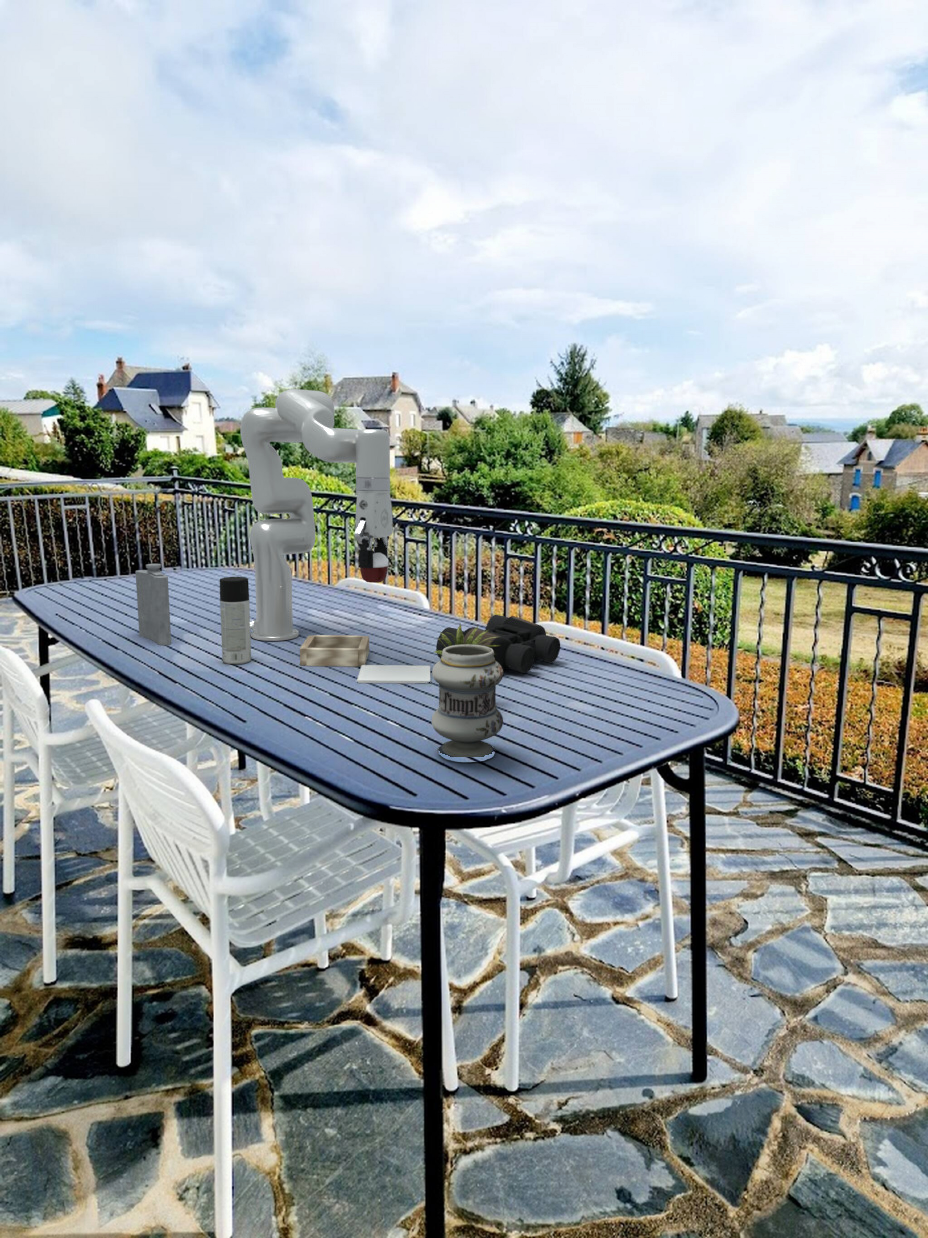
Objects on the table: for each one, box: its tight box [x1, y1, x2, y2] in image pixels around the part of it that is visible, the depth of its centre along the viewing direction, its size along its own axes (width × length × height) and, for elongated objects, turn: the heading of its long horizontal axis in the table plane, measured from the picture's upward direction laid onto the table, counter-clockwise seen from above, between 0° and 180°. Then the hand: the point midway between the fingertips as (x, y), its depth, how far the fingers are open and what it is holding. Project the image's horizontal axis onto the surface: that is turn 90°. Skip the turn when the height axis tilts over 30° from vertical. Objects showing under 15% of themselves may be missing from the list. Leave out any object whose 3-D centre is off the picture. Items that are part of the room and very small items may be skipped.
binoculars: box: [435, 614, 561, 674], centre depth 193 cm, size 29×20×10 cm
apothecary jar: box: [430, 644, 504, 757], centre depth 133 cm, size 12×12×18 cm
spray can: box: [219, 576, 252, 665], centre depth 188 cm, size 7×7×20 cm
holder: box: [299, 634, 370, 667], centre depth 195 cm, size 15×15×4 cm
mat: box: [356, 664, 431, 684], centre depth 181 cm, size 16×13×1 cm
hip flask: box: [135, 563, 172, 646], centre depth 208 cm, size 16×4×20 cm, turn 42°
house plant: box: [433, 623, 500, 655], centre depth 160 cm, size 14×14×16 cm
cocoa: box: [359, 540, 389, 584], centre depth 181 cm, size 10×6×12 cm, turn 12°
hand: (373, 565), depth 181 cm, fingers closed on cocoa, 6 cm apart
